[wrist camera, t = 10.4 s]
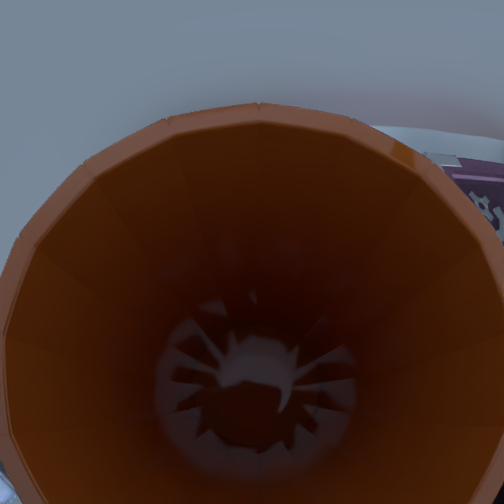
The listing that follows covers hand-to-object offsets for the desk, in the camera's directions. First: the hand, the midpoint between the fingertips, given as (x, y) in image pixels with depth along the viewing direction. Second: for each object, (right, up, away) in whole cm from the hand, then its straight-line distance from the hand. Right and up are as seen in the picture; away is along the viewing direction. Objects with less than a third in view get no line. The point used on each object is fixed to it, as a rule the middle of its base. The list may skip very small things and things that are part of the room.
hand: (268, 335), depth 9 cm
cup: (0, -4, +5) cm, 7 cm away
